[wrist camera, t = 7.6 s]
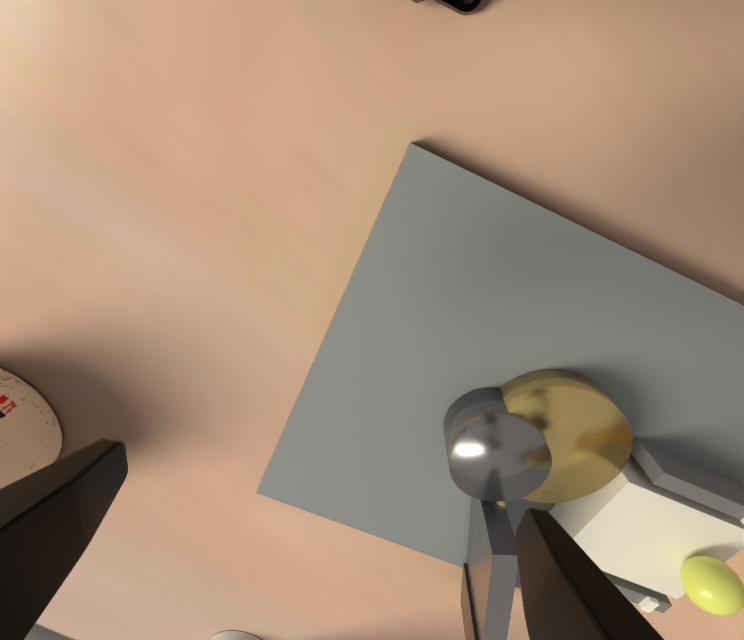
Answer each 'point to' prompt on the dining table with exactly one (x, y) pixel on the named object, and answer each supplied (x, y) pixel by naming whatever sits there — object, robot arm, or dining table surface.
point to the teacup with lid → (25, 430)
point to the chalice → (234, 636)
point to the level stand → (502, 361)
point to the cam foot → (658, 540)
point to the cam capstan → (524, 471)
